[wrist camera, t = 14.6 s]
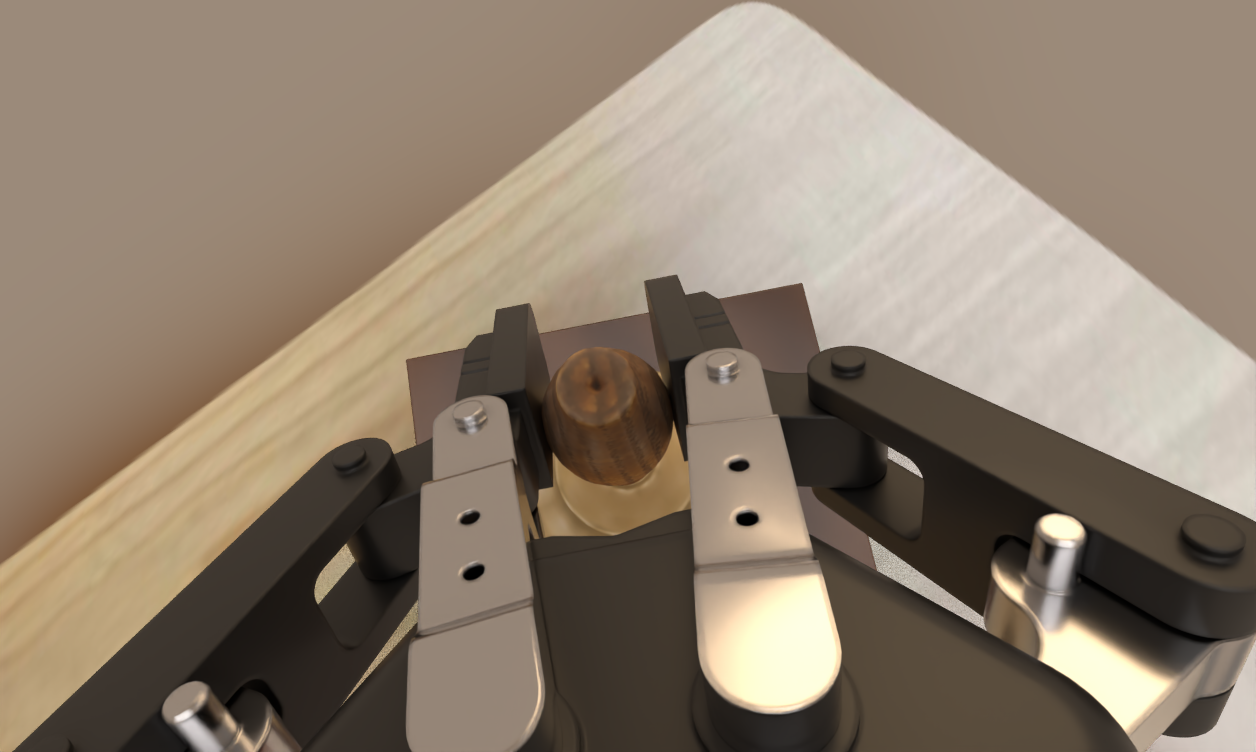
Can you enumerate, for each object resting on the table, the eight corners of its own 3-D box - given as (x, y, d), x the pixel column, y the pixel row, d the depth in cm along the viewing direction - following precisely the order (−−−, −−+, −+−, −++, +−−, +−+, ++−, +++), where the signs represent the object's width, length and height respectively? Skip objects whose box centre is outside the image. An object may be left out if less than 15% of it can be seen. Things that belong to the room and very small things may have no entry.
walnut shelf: (494, 645, 33) (443, 678, 26) (460, 398, 36) (405, 359, 28) (830, 580, 33) (883, 593, 26) (771, 337, 36) (802, 282, 28)
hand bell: (642, 642, 25) (639, 789, 10) (474, 488, 27) (240, 404, 11) (787, 465, 27) (984, 348, 11) (620, 327, 28) (589, 54, 13)
